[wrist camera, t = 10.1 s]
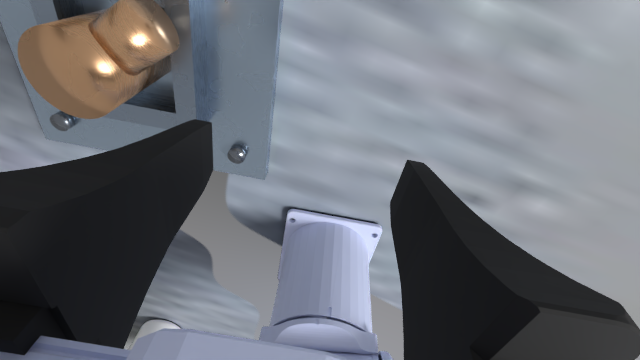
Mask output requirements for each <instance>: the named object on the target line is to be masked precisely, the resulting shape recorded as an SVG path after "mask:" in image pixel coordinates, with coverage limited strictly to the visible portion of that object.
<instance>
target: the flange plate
mask: <svg viewBox="0 0 640 360" xmlns="http://www.w3.org/2000/svg"><path fill="white" fill-rule="evenodd" d="M117 1H119V0H0V22H1V25H2V27H3V30H4V32H5V35H6V37H7V40H8V43H9V45H10V48H11V50H12V53H13V55H14V58H15V61H16V63H17V66H18V68H19V71H20V73H21V76H22V79H23V81H24V84H25V86H26V89H27V91H28V94H29V97H30V99H31V102H32V104H33V107H34V109H35V112H36V114H37V117H38V120H39V122H40V125H41V127H42V130H43V132H44V135H45V138H46V139H48V140H54V141H59V142H65V143H70V144H75V145H81V146H86V147H91V148H97V149H102V150H108V151H111V150H114V149H117V148H120V147H123V146H126V145H129V144H131V143H134V142H137V141H140V140H142V139H145V138H148V137H150V136H153V135H155V134H158V133H160V132H163V131H165V130H168V129H170V128H172V127H175V126H177V125H180V124H182V123H185V122H187V121H190V120H194V119H197V120H202V121H207V122H212V141H213V170H216V171H220V172H226V173H231V174H236V175H242V176H247V177H253V178H258V179H263V180H265V178H266V175H267V172H268V162H269V151H270V140H271V129H272V118H273V107H274V96H275V85H276V74H277V63H278V52H279V41H280V30H281V19H282V8H283V0H154V1H155V2H156V3H157V4H158V5H159V6H160V7H161V8H162V9H163V10H164V11H165V12H166V14H167V15H168V16H169V18H170V19H171V21H172V23H173V24H174V26H175V28H176V31H177V33H178V36H179V47H178V49H177V50H176V51H174V52H173V53H171V54H170V61H171V71H170V72H169V73H167V74H166V75H165V76H163V77H162V78H160V79H159V80H157V81H156V82H154V83H153V84H151V85H150V86H148V87H147V88H145V89H144V90H142V91H141V92H139V93H138V94H136V95H135V96H133V97H132V98H130V99H129V100H127V101H126V102H124V103H123V104H121V105H120V106H118V107H117V108H115V109H114V110H112V111H111V112H109V113H108V114H106V115H105V116H103V117H100V118H96V119H83V118H78V117H75V116H72V115H69V114H67V113H65V112H63V111H61V110H59V109H57V108H56V107H54V106H53V105H51V104H50V103H49V102H47V101H46V100H45V99H44V98H43V97H42V96H41V95H40V94H39V93H38V92H37V91H36V90H35V89H34V88H33V87H32V85H31V84H30V82H29V81H28V80H27V78H26V76H25V74H24V73H23V70H22V68H21V66H20V62H19V58H18V42H19V39H20V37H21V35H22V34H23V33H24V32H25V31H26V30H27V29H29V28H30V27H33V26H36V25H40V24H44V23H49V22H53V21H57V20H61V19H65V18H70V17H74V16H78V15H82V14H86V13H91V12H95V11H99V10H103V9H107V8H110V7H111V6H112V5H114V4H115V3H116V2H117Z"/></svg>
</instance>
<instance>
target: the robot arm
mask: <svg viewBox="0 0 640 360" xmlns="http://www.w3.org/2000/svg"><path fill="white" fill-rule="evenodd" d="M212 171H213V141H212V122H207V121H202V120H197V119H194V120H190V121H187V122H185V123H182V124H180V125H177V126H175V127H172V128H170V129H168V130H165V131H163V132H160V133H158V134H155V135H153V136H150V137H148V138H145V139H142V140H140V141H137V142H134V143H131V144H129V145H126V146H123V147H120V148H117V149H114V150H111V151H107V152H104V153H100V154H97V155H93V156H89V157H85V158H81V159H77V160H72V161H67V162H62V163H57V164H52V165H47V166H42V167H36V168H29V169H23V170H15V171H8V172H0V360H394V359H393V358H392V357H391V355H390V354H389V353H388V352H386V351H379V353H378V344H377V334H375V333H372V319H371V301H370V282H369V262H370V260H371V258H372V255H373V253H374V250H375V248H376V246H377V243H378V241H379V238H380V236H381V233H382V227H381V226H380V225H378V224H374V223H368V222H363V221H357V220H352V219H346V218H341V217H336V216H330V215H325V214H319V213H314V212H308V211H303V210H297V209H290V210H289V211H288V213H287V219H286V225H285V232H284V238H283V245H282V252H281V258H280V266H279V272H278V280H279V284H278V289H277V293H276V298H275V303H274V307H273V312H272V317H271V322H270V326H269V327H266V326H265V327H262V329H261V334H260V338H259V340H253V339H247V338H241V337H235V336H229V335H223V334H217V333H211V332H205V331H199V330H193V329H168V328H163V329H161V330H158V331H156V332H153V333H151V334H148V335H146V336H143V337H141V338H138V339H137V341H136V342H135V344H134V346H133V348H132V350H126V349H124V346H125V343H126V341H127V338H128V336H129V333H130V331H131V328H132V326H133V323H134V321H135V319H136V316H137V314H138V312H139V309H140V307H141V305H142V302H143V300H144V298H145V295H146V293H147V291H148V289H149V287H150V284H151V282H152V280H153V278H154V276H155V274H156V271H157V269H158V267H159V265H160V263H161V261H162V259H163V257H164V255H165V253H166V251H167V249H168V247H169V245H170V243H171V242H172V240H173V238H174V237H175V235H176V233H177V232H178V230H179V229H180V227H181V225H182V224H183V222H184V221H185V219H186V218H187V216H188V215H189V213H190V211H191V210H192V209H193V207H194V205H195V204H196V202H197V201H198V199H199V197H200V196H201V194H202V193H203V191H204V189H205V187H206V185H207V183H208V181H209V178H210V176H211V173H212ZM390 214H391V228H392V235H393V241H394V246H395V252H396V257H397V263H398V269H399V274H400V282H401V292H402V308H403V332H404V360H635V359H636V358H637V357H638V356H639V355H640V329H639V328H638V326H637V325H636V324H635V322H634V321H633V320H632V318H631V317H630V316H629V314H628V313H627V312H626V310H625V309H624V308H623V306H622V305H621V304H620V303H618V302H616V301H614V300H612V299H610V298H608V297H606V296H604V295H602V294H600V293H598V292H596V291H594V290H592V289H590V288H588V287H586V286H584V285H582V284H580V283H578V282H576V281H574V280H573V279H571V278H569V277H567V276H565V275H564V274H562V273H560V272H558V271H557V270H555V269H553V268H551V267H550V266H548V265H546V264H545V263H543V262H541V261H540V260H538V259H536V258H535V257H533V256H532V255H530V254H529V253H527V252H526V251H524V250H523V249H521V248H520V247H518V246H517V245H515V244H514V243H512V242H511V241H509V240H508V239H507V238H505V237H504V236H502V235H501V234H500V233H499V232H497V231H496V230H495V229H493V228H492V227H491V226H490V225H488V224H487V223H486V222H485V221H483V220H482V219H481V218H480V217H479V216H478V215H476V214H475V213H474V212H473V211H472V210H471V209H470V208H469V207H468V206H466V205H465V204H464V203H463V202H462V201H461V200H460V199H459V198H458V197H457V196H456V195H455V194H454V193H453V192H452V191H451V190H450V189H449V188H448V187H447V186H446V185H445V184H444V183H443V182H442V181H441V179H440V178H439V177H438V176H437V175H436V174H435V173H434V172H433V171H432V170H431V169H430V168H429V167H428V166H427V165H425V164H424V163H421V162H416V161H411V160H407V162H406V164H405V167H404V169H403V172H402V174H401V177H400V179H399V182H398V184H397V187H396V189H395V192H394V194H393V197H392V199H391V202H390ZM291 218H293V219H294V220H292V219H291ZM373 233H376V234H373Z"/></svg>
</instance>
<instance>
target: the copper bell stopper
mask: <svg viewBox="0 0 640 360" xmlns="http://www.w3.org/2000/svg"><path fill="white" fill-rule="evenodd" d="M178 47H179V36H178V33H177V31H176V28H175V26H174V24H173V23H172V21H171V19H170V18H169V16H168V15H167V14H166V12H165V11H164V10H163V9H162V8H161V7H160V6H159V5H158V4H157V3H156V2H155V1H154V0H119V1H117V2H116V3H115V4H114V5H112V6H111V7H110V8H107V9H103V10H99V11H95V12H91V13H86V14H82V15H78V16H74V17H70V18H65V19H61V20H57V21H53V22H49V23H44V24H40V25H36V26H33V27H30V28H29V29H27V30H26V31H25V32H24V33H23V34H22V35H21V37H20V39H19V42H18V58H19V62H20V66H21V68H22V70H23V73H24V74H25V76H26V78H27V80H28V81H29V82H30V84H31V85H32V87H33V88H34V89H35V90H36V91H37V92H38V93H39V94H40V95H41V96H42V97H43V98H44V99H45V100H46V101H47V102H49V103H50V104H51V105H53V106H54V107H56V108H57V109H59V110H61V111H63V112H65V113H67V114H69V115H72V116H75V117H78V118H83V119H96V118H100V117H103V116H105V115H106V114H108V113H109V112H111V111H112V110H114V109H115V108H117V107H118V106H120V105H121V104H123V103H124V102H126V101H127V100H129V99H130V98H132V97H133V96H135V95H136V94H138V93H139V92H141V91H142V90H144V89H145V88H147V87H148V86H150V85H151V84H153V83H154V82H156V81H157V80H159V79H160V78H162V77H163V76H165V75H166V74H167V73H169V72H170V71H171V61H170V54H171V53H173V52H174V51H176V50H177V49H178Z"/></svg>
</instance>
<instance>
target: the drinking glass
mask: <svg viewBox="0 0 640 360" xmlns="http://www.w3.org/2000/svg"><path fill="white" fill-rule="evenodd" d="M163 328H168V329H181V328H180V327H179V326H177V325H176V324H174V323H172V322H169V321H166V320H160V319H155V320H149V321H147V322H145V323H144V324H143V325H142V326H141V328H140V330H139V332H138V333H137V335H136V337H135V339H134V340H133V342H132V344H131V345H130V347H129V348H128V350H132V348H133V346H134V344H135V342H136V341H137V339H138V338H141V337H143V336H146V335H148V334H151V333H153V332H156V331H158V330H161V329H163Z"/></svg>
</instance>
